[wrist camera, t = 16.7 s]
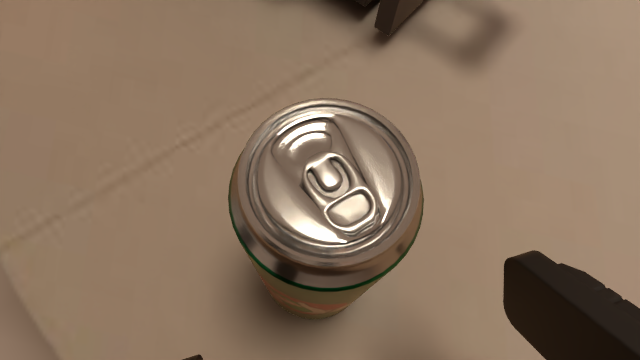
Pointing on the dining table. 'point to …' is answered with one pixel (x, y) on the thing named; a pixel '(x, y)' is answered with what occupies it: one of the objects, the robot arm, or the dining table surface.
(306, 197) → the soda can
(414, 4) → the drawer
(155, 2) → the dining table surface
